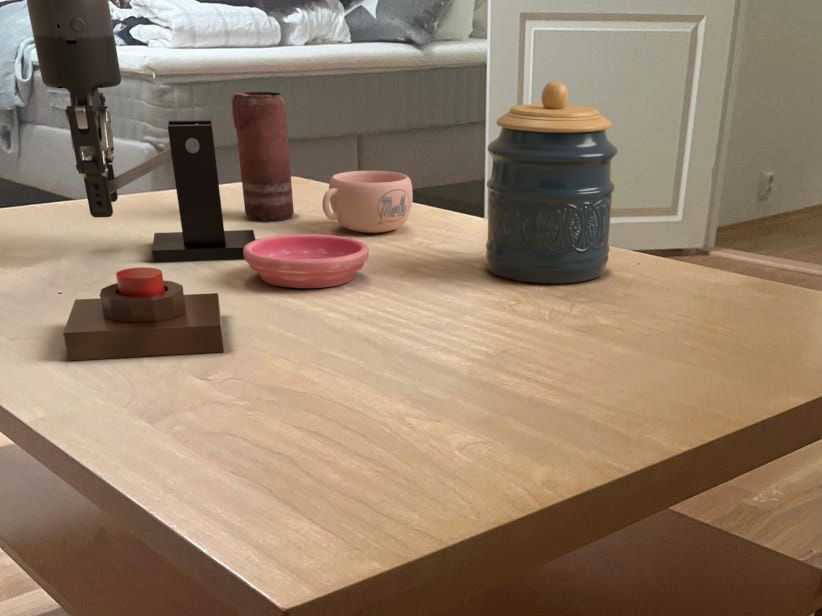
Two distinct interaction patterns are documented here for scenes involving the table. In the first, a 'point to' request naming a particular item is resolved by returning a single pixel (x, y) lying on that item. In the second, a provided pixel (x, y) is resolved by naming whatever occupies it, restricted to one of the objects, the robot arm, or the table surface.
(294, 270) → the pink bowl
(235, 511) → the table surface
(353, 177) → the mug
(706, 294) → the table surface
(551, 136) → the canister
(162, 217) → the table surface
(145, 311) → the control block
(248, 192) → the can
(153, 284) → the button
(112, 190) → the lever
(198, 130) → the bracket
